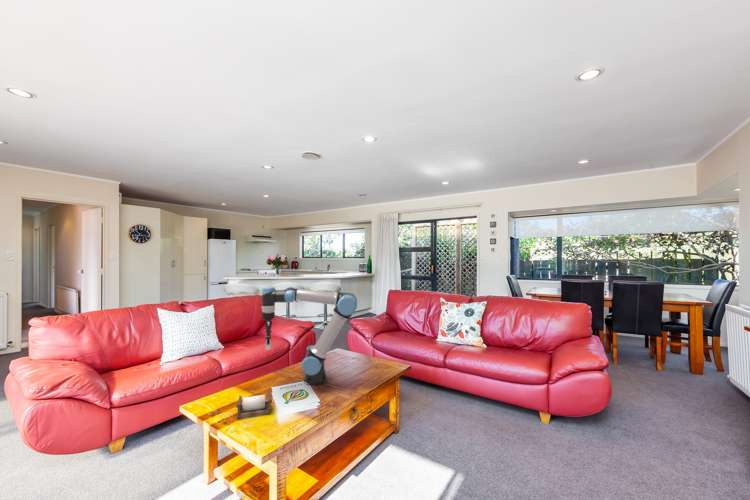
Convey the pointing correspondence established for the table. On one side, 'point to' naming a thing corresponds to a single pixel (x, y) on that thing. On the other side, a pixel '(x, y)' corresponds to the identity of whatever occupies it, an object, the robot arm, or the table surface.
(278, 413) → the table surface
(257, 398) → the roll
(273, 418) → the table surface
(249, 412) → the holder
